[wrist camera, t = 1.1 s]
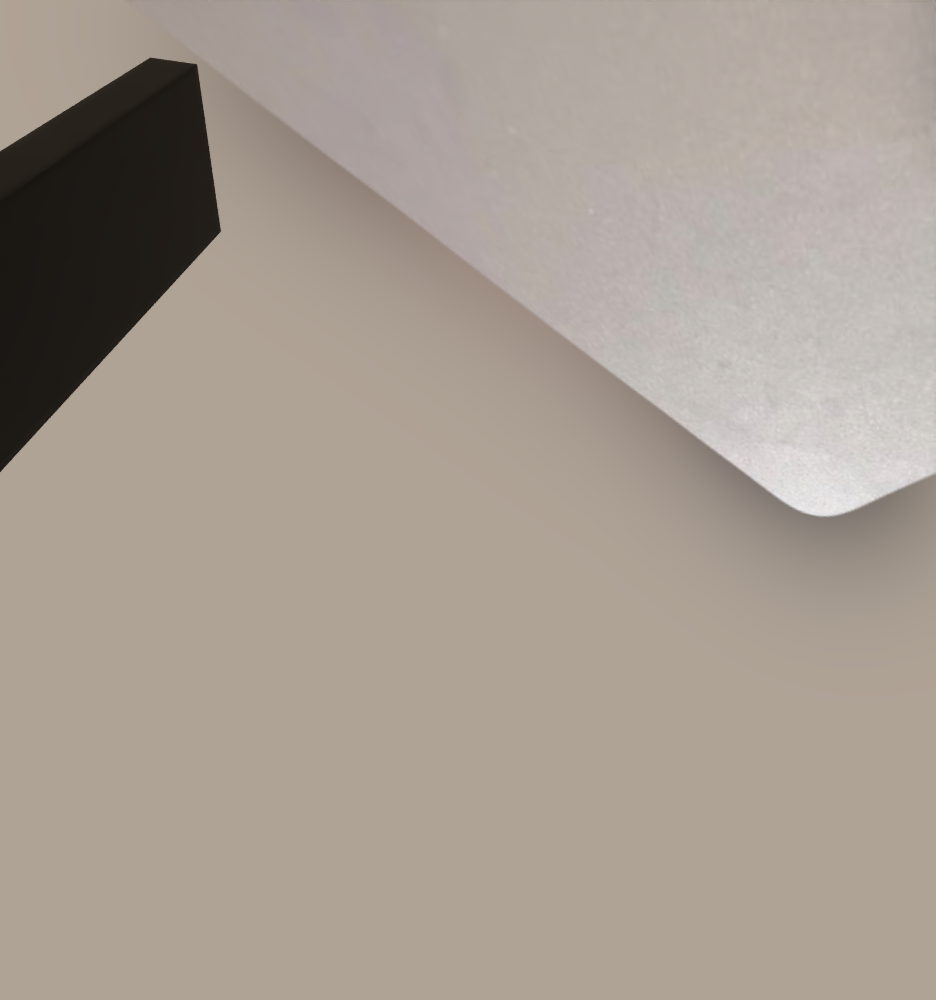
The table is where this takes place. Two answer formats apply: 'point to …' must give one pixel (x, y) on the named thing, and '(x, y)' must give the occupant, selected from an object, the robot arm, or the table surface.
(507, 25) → the table surface
